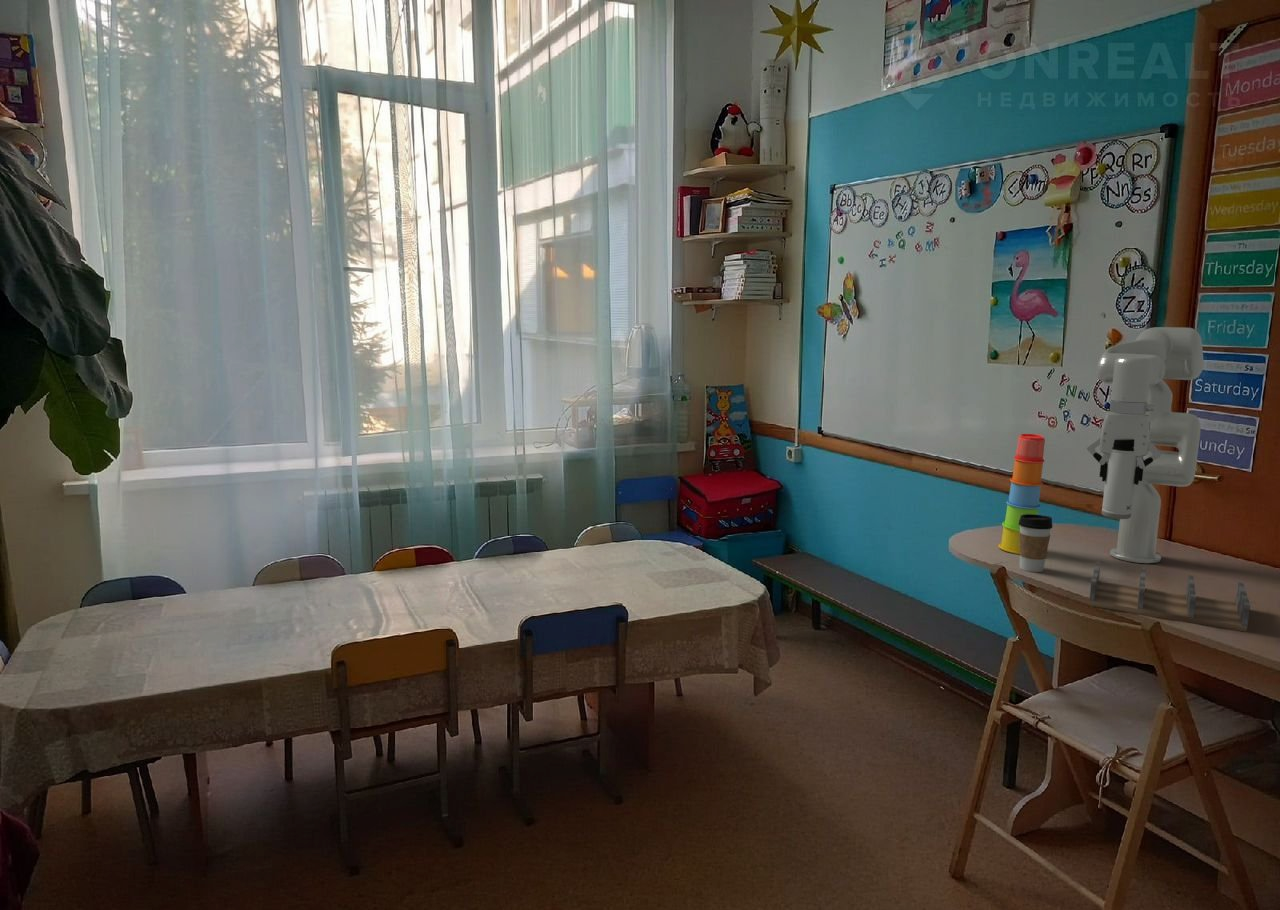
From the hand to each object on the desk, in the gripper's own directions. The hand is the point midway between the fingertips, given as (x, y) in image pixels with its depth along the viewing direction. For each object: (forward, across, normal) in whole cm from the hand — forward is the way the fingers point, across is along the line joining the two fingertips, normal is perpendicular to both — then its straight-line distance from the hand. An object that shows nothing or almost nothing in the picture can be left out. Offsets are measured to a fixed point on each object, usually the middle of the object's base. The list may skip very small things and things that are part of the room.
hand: (1120, 481), depth 202 cm
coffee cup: (+30, +20, -14) cm, 38 cm away
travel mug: (+9, 0, 0) cm, 9 cm away
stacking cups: (+30, +26, -31) cm, 50 cm away
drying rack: (+29, -12, 0) cm, 32 cm away
